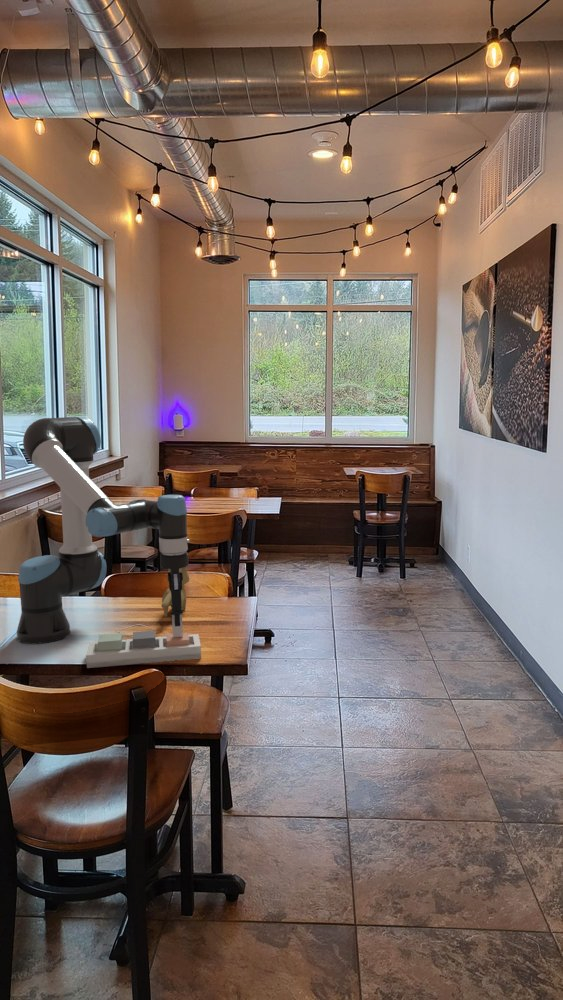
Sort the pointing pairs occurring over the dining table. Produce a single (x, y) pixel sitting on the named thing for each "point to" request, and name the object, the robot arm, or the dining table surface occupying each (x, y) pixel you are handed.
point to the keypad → (142, 653)
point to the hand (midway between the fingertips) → (177, 636)
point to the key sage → (110, 641)
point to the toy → (167, 595)
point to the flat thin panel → (130, 626)
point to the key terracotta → (177, 640)
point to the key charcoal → (144, 639)
